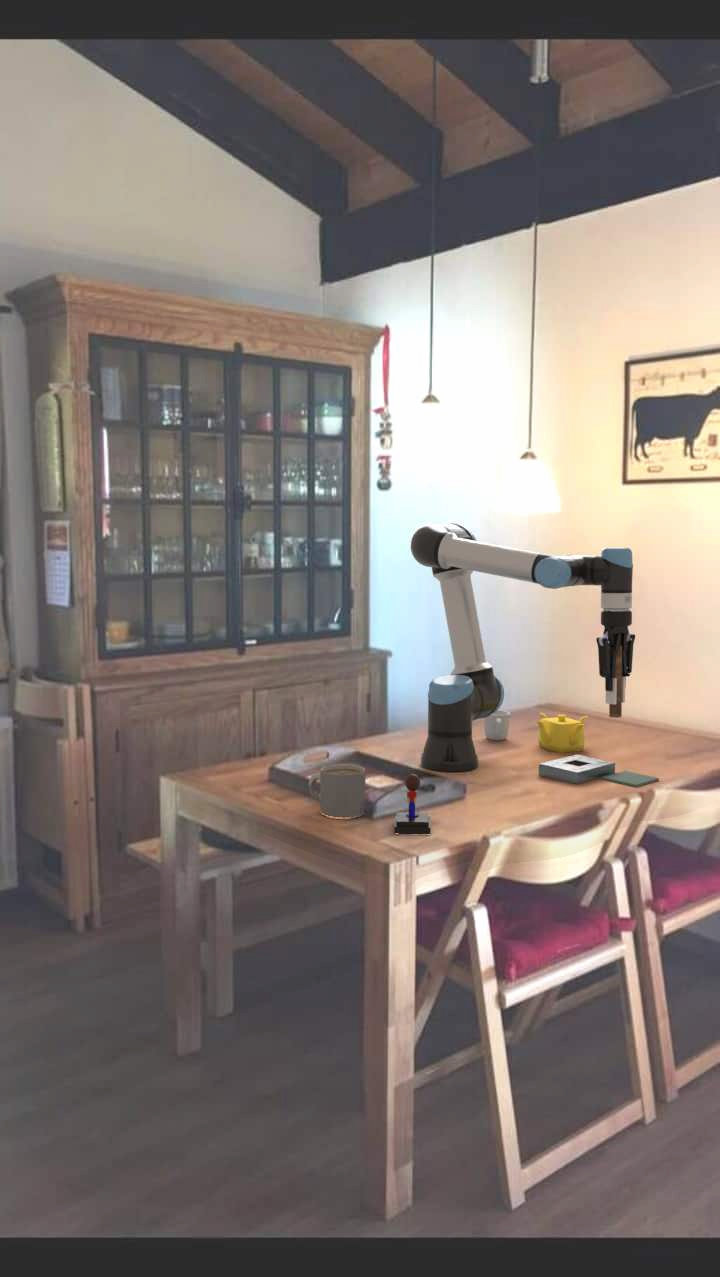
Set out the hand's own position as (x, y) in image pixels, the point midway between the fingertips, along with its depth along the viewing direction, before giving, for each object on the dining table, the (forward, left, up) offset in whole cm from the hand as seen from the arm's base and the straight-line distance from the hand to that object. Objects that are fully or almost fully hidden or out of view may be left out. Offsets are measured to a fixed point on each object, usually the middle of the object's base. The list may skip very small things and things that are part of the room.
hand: (615, 702), depth 261 cm
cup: (+12, +49, -20) cm, 54 cm away
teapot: (+18, +30, -20) cm, 40 cm away
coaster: (+2, -4, -19) cm, 20 cm away
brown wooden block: (0, 0, -4) cm, 4 cm away
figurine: (-69, +2, -20) cm, 72 cm away
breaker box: (-4, +8, -19) cm, 21 cm away
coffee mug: (-73, +22, -20) cm, 79 cm away
